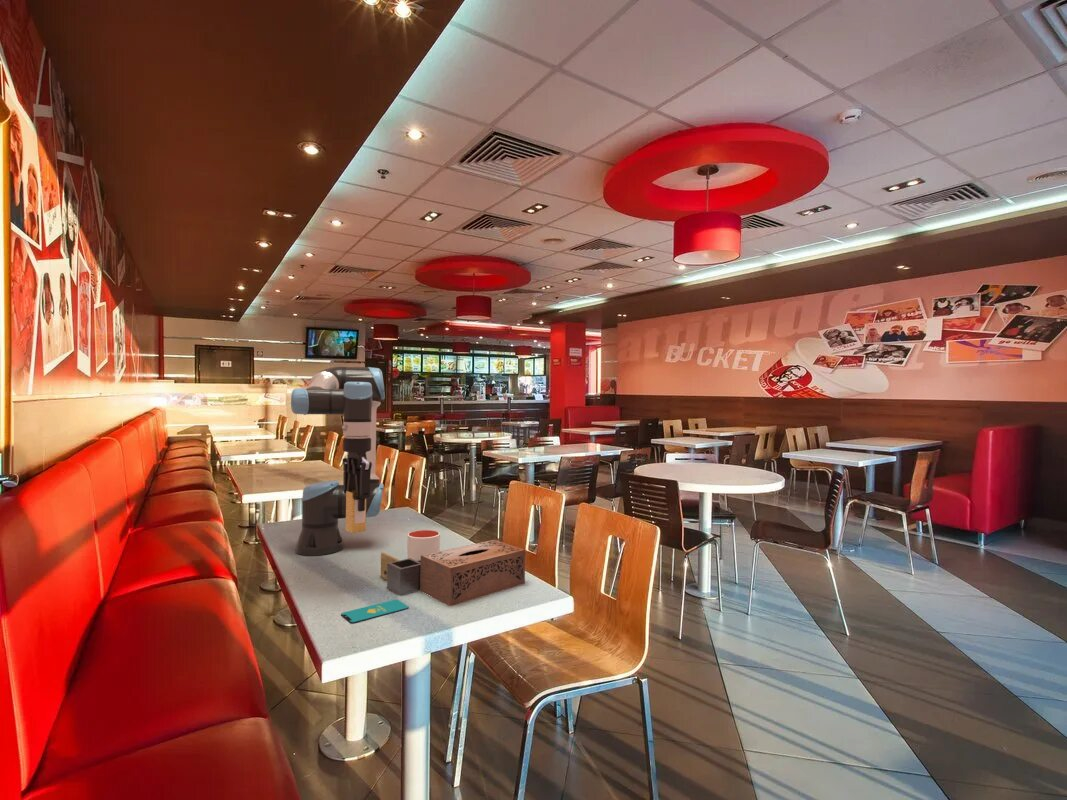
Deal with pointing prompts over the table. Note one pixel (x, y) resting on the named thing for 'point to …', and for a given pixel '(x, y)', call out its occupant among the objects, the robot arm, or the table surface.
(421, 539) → the cup
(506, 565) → the tissue box cover
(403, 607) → the smartphone
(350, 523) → the pin
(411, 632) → the table surface
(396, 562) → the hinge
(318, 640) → the table surface
